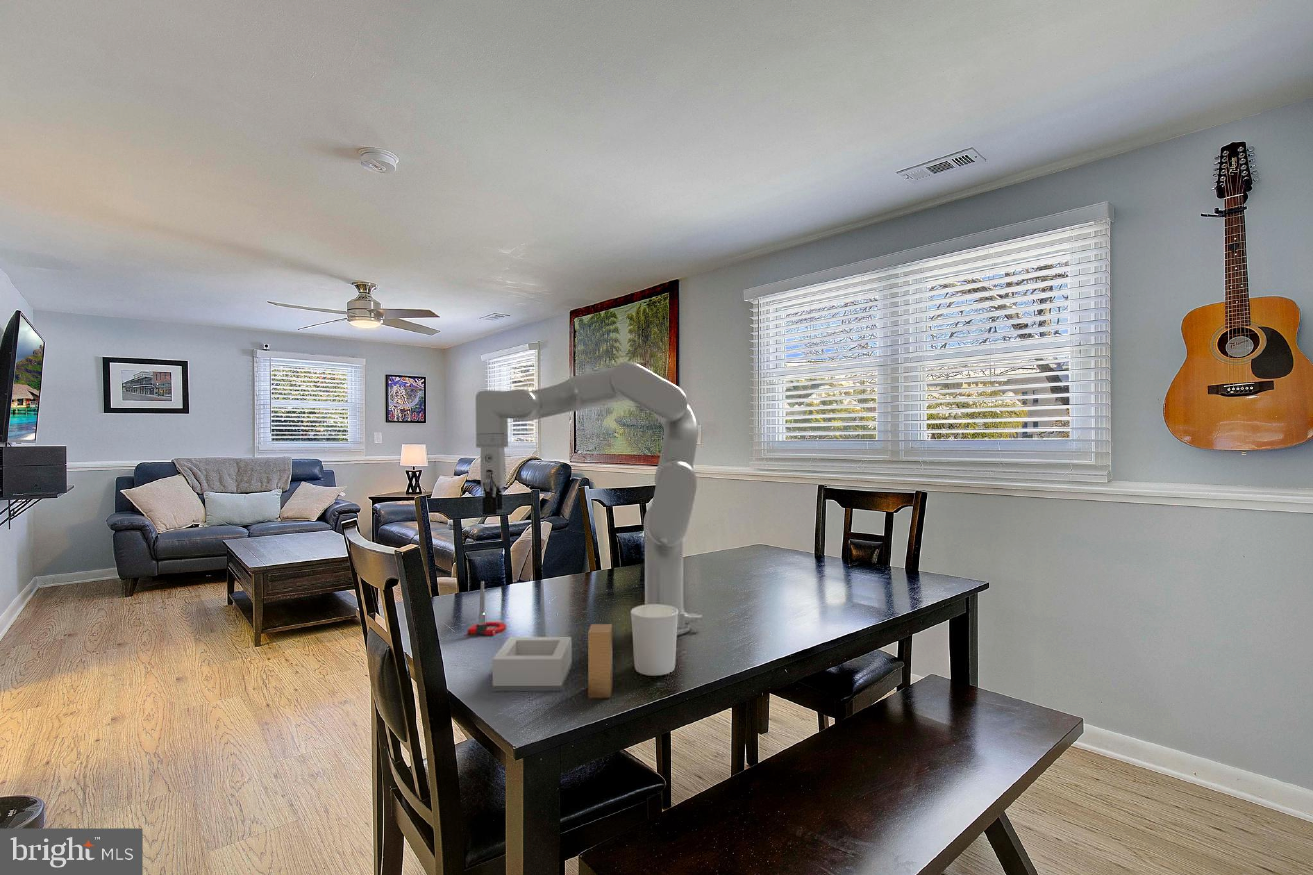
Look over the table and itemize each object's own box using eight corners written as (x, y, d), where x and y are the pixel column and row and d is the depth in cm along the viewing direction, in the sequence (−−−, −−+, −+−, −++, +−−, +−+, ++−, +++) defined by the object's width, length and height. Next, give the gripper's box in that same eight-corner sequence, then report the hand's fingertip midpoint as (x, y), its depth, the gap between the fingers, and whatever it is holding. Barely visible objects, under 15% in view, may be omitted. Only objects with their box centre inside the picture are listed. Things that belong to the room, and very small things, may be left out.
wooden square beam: (612, 686, 119) (612, 624, 119) (610, 697, 114) (609, 632, 114) (591, 686, 119) (591, 624, 119) (588, 697, 114) (588, 632, 114)
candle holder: (630, 660, 133) (629, 604, 133) (675, 659, 134) (675, 603, 134) (632, 678, 123) (631, 617, 123) (681, 676, 124) (680, 616, 124)
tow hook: (480, 625, 160) (463, 635, 151) (481, 575, 161) (464, 581, 152) (511, 627, 159) (496, 637, 150) (512, 576, 160) (497, 582, 150)
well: (571, 665, 130) (571, 637, 130) (561, 690, 117) (561, 659, 117) (509, 665, 131) (509, 637, 131) (492, 690, 118) (492, 659, 118)
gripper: (503, 441, 143) (504, 516, 143) (512, 441, 160) (512, 507, 160) (469, 441, 142) (470, 516, 142) (482, 441, 159) (482, 508, 159)
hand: (492, 511), depth 151 cm, fingers open, 9 cm apart
